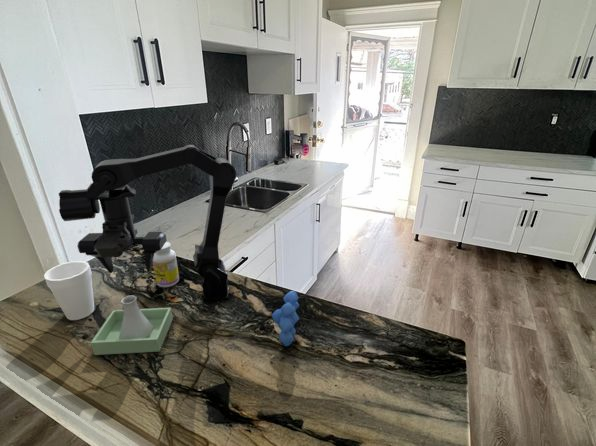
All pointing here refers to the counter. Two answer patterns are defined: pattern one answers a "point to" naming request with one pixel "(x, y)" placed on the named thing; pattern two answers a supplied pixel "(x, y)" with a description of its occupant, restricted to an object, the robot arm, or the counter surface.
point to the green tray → (111, 343)
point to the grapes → (287, 318)
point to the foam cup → (72, 288)
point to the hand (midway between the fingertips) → (130, 271)
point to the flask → (134, 320)
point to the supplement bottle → (165, 266)
